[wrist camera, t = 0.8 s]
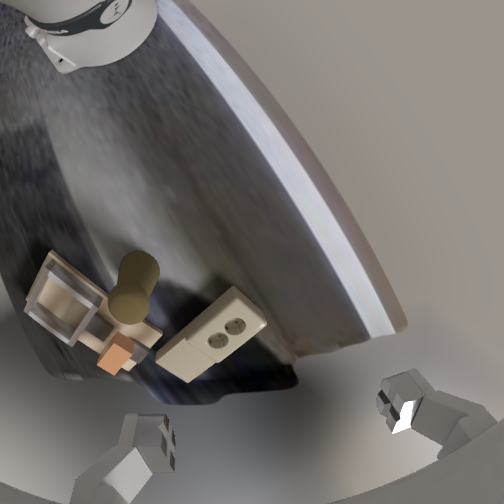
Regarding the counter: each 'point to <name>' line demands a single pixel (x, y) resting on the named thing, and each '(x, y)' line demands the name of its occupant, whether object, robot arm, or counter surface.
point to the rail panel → (82, 311)
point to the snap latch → (116, 353)
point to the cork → (133, 288)
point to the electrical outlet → (211, 335)
